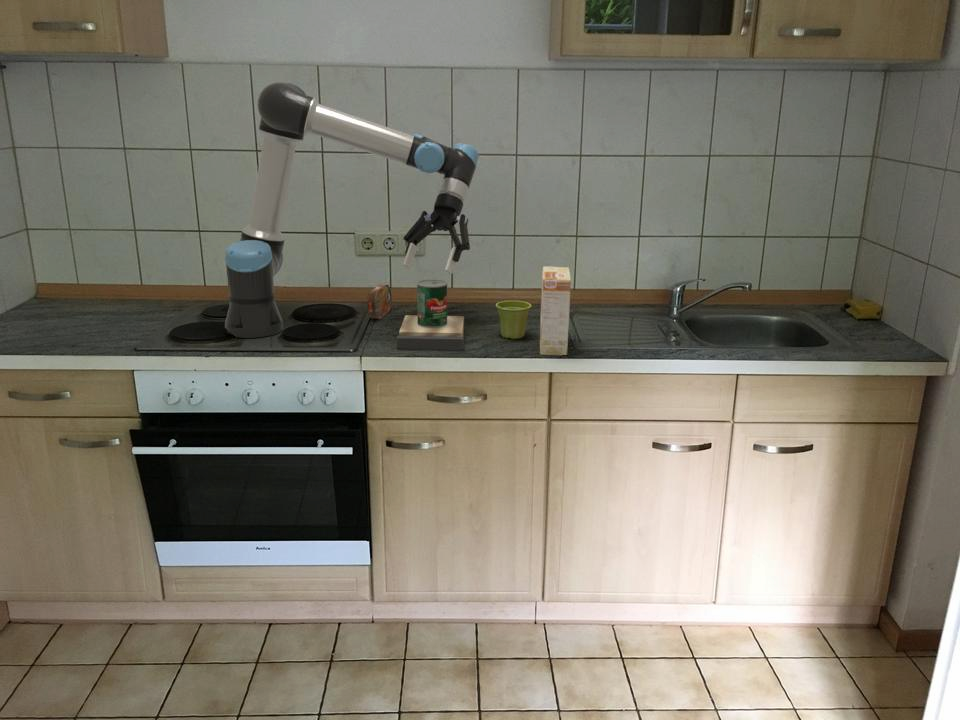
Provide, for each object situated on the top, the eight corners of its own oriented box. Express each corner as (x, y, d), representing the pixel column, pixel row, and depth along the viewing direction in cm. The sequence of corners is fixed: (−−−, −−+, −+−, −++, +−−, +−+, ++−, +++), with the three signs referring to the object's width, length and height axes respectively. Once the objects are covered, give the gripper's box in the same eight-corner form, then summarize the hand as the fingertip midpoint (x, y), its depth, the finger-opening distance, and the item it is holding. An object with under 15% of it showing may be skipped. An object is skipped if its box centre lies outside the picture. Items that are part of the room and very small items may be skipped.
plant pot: (505, 342, 204) (506, 310, 201) (489, 333, 212) (489, 302, 209) (536, 338, 208) (537, 307, 205) (519, 329, 216) (520, 299, 213)
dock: (396, 349, 197) (396, 334, 196) (404, 329, 214) (404, 315, 213) (463, 350, 197) (463, 335, 196) (465, 330, 214) (465, 316, 213)
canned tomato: (438, 329, 200) (438, 287, 197) (411, 325, 203) (411, 284, 200) (452, 322, 207) (452, 281, 203) (426, 318, 210) (426, 278, 207)
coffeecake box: (539, 337, 209) (542, 265, 203) (566, 338, 208) (570, 266, 202) (538, 355, 195) (542, 278, 188) (567, 356, 194) (571, 279, 188)
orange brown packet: (376, 322, 220) (375, 293, 218) (366, 321, 221) (365, 292, 218) (392, 309, 234) (392, 281, 232) (382, 308, 235) (382, 281, 232)
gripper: (495, 208, 210) (472, 280, 206) (420, 202, 223) (396, 270, 218) (484, 194, 204) (460, 268, 200) (407, 189, 216) (382, 258, 212)
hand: (427, 269), depth 209 cm, fingers open, 13 cm apart
